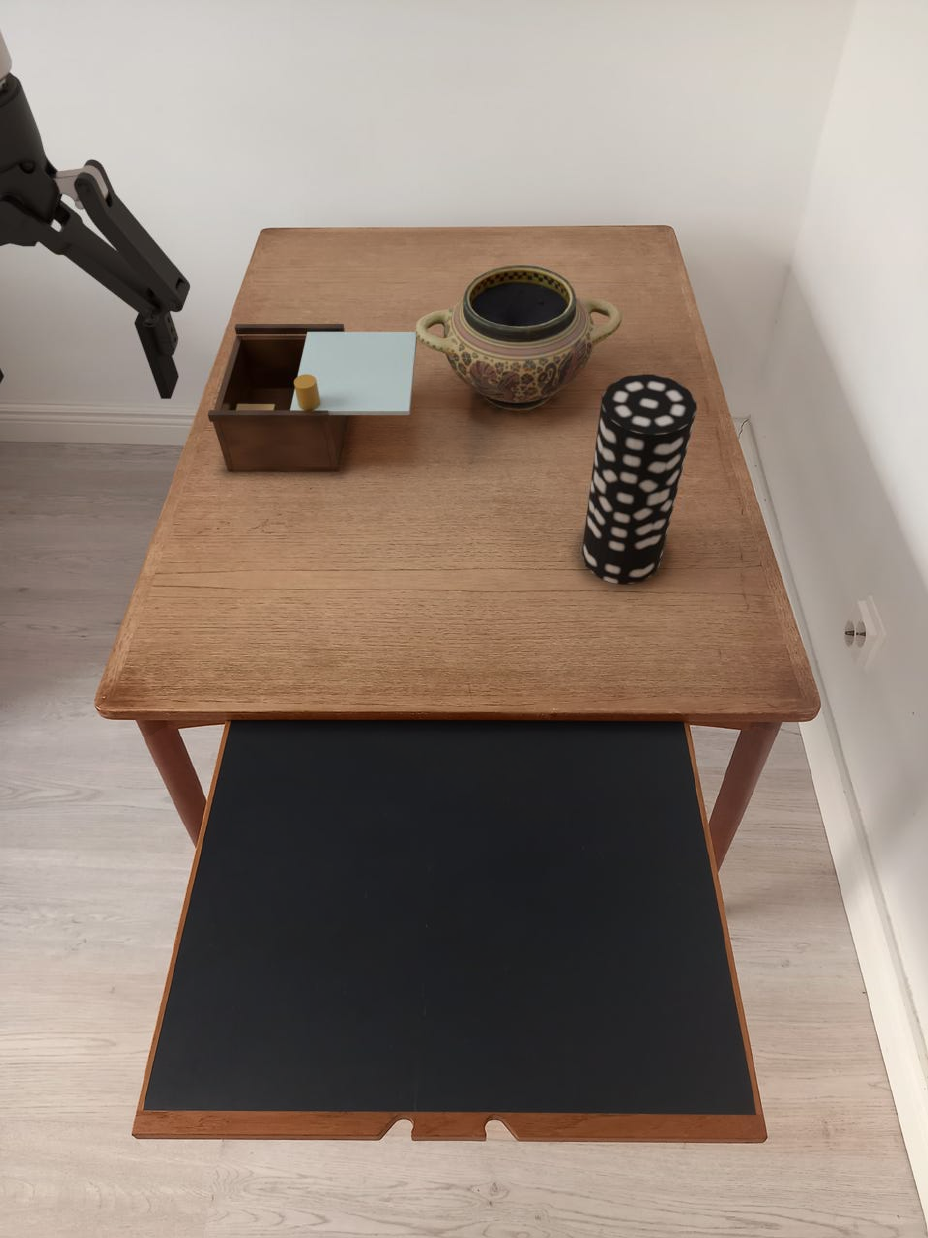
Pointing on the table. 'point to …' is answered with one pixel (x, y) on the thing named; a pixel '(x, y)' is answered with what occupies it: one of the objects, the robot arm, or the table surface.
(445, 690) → the table surface
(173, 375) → the robot arm
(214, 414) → the wooden box
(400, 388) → the pale blue square panel
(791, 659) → the table surface
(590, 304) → the ceramic bowl
